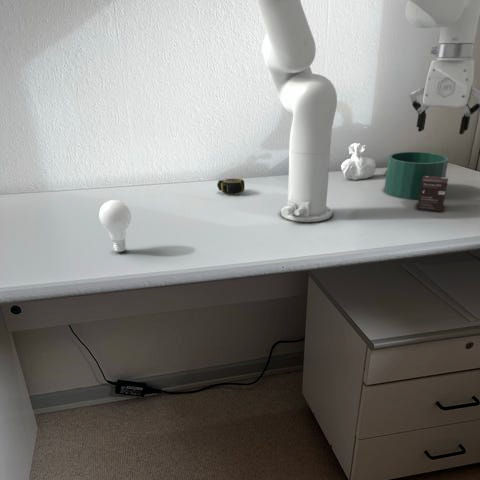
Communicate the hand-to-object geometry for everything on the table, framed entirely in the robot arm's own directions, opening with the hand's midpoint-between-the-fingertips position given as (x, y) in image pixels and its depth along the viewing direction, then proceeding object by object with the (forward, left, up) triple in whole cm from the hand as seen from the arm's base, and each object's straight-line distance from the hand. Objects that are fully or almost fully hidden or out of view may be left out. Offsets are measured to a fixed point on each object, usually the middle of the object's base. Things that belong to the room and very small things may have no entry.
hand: (441, 132), depth 121 cm
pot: (+10, +7, -18) cm, 22 cm away
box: (-3, -1, -18) cm, 18 cm away
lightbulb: (-66, +47, -18) cm, 83 cm away
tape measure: (-16, +52, -18) cm, 57 cm away
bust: (+18, +27, -18) cm, 37 cm away
